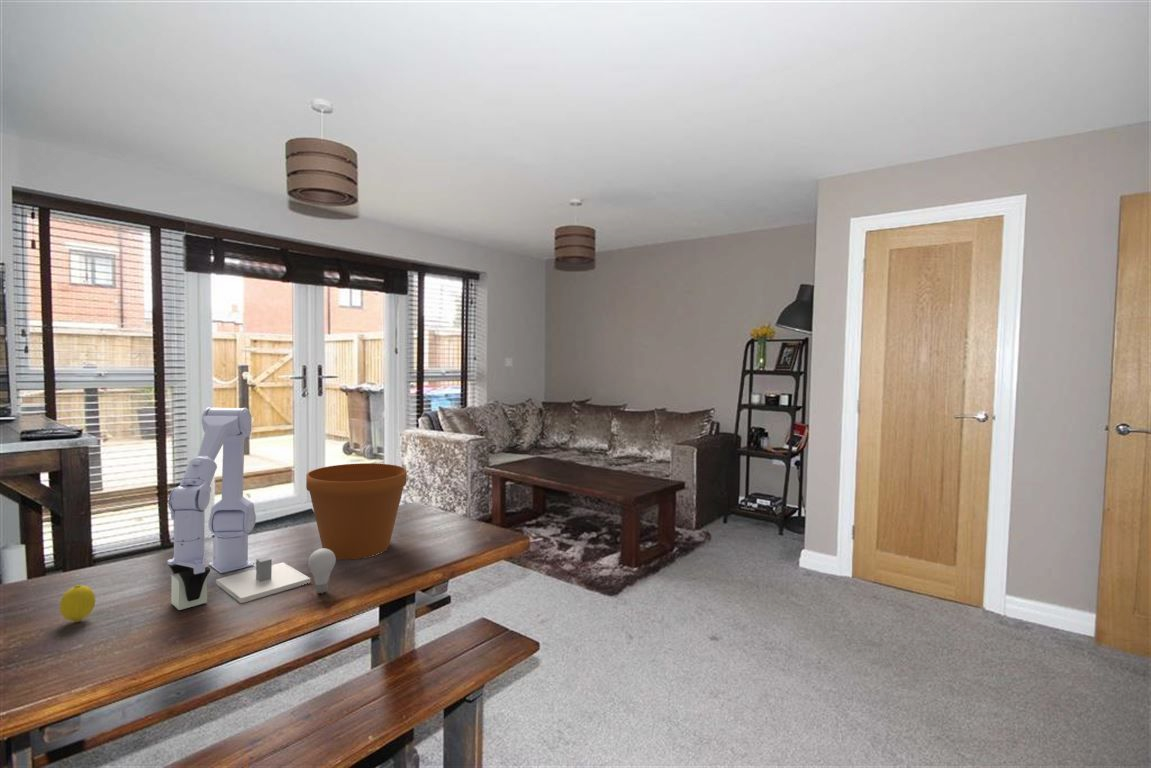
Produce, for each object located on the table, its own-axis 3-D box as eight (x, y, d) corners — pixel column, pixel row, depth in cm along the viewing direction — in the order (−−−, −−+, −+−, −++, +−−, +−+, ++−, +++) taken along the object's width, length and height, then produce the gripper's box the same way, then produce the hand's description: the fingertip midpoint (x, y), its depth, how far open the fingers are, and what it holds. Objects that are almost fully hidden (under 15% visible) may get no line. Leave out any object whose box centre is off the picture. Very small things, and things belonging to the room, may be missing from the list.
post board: (216, 584, 136) (216, 559, 135) (282, 566, 148) (283, 544, 148) (241, 603, 126) (241, 577, 125) (310, 582, 138) (310, 559, 138)
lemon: (59, 621, 115) (59, 584, 114) (94, 613, 119) (94, 577, 118) (60, 631, 111) (59, 592, 110) (96, 622, 115) (96, 585, 114)
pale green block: (171, 603, 124) (171, 574, 124) (198, 595, 128) (199, 568, 128) (178, 610, 121) (178, 581, 120) (206, 602, 125) (207, 574, 125)
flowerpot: (344, 573, 145) (346, 486, 144) (285, 552, 159) (286, 473, 158) (424, 545, 168) (426, 470, 168) (366, 528, 183) (367, 460, 182)
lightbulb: (340, 591, 133) (341, 547, 133) (317, 600, 128) (318, 555, 128) (325, 586, 136) (325, 543, 136) (302, 594, 131) (302, 549, 131)
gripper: (158, 534, 125) (158, 592, 126) (178, 549, 116) (178, 611, 117) (194, 527, 131) (194, 583, 131) (216, 541, 122) (215, 600, 122)
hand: (189, 595), depth 124 cm, fingers closed on pale green block, 5 cm apart
